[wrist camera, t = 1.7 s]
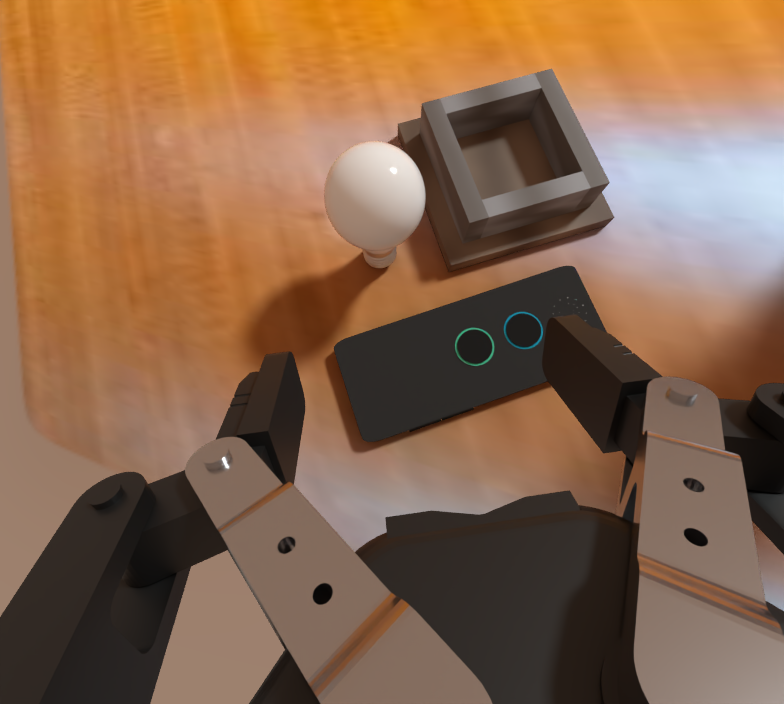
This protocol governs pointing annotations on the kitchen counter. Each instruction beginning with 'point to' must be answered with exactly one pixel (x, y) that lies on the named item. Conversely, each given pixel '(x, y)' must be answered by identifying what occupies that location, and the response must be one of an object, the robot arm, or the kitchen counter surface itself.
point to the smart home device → (457, 354)
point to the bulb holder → (505, 169)
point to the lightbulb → (375, 199)
